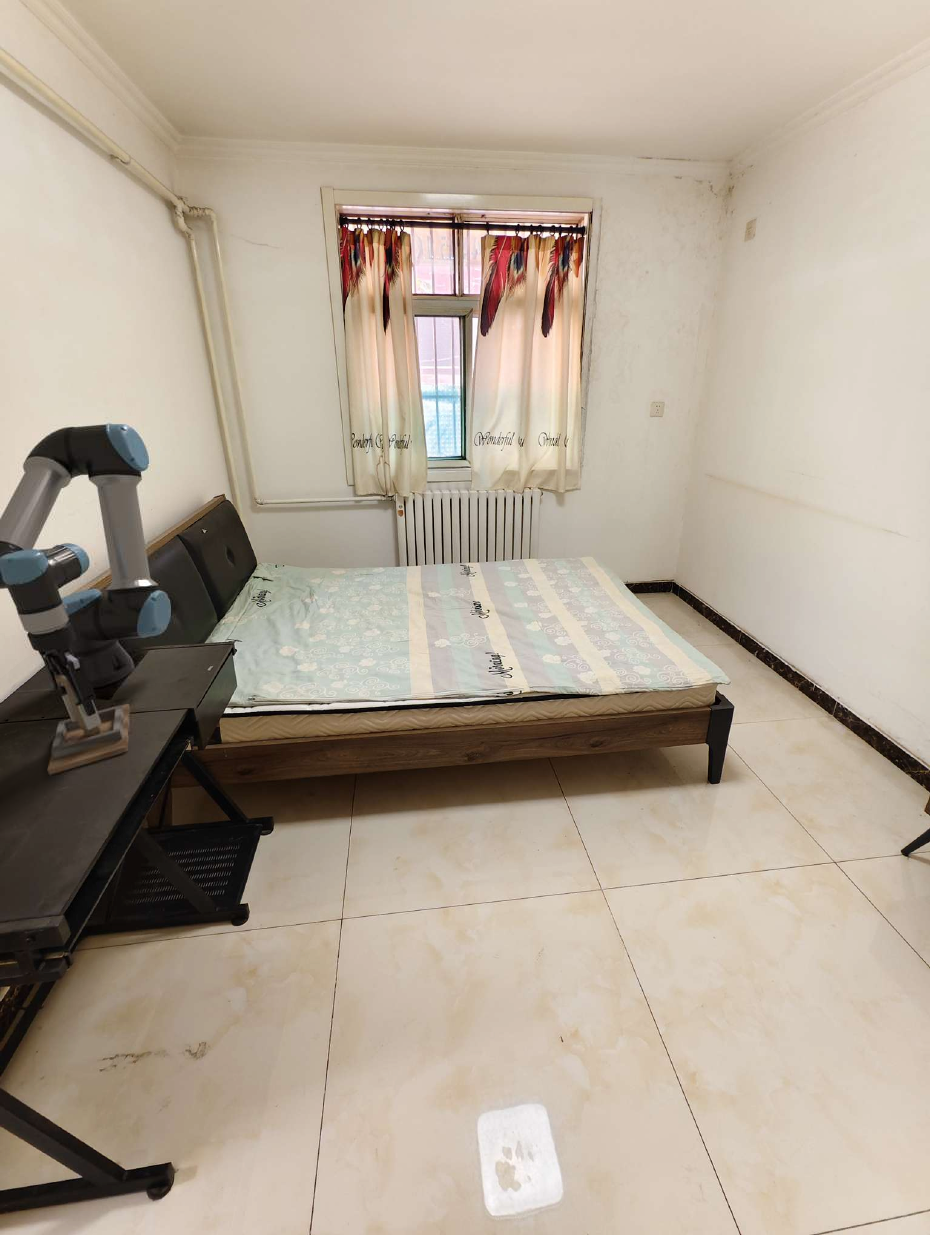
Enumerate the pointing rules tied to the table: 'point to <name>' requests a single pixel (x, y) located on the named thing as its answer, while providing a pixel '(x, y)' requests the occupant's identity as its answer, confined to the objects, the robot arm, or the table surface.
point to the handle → (63, 682)
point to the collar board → (90, 740)
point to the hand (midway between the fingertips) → (86, 722)
